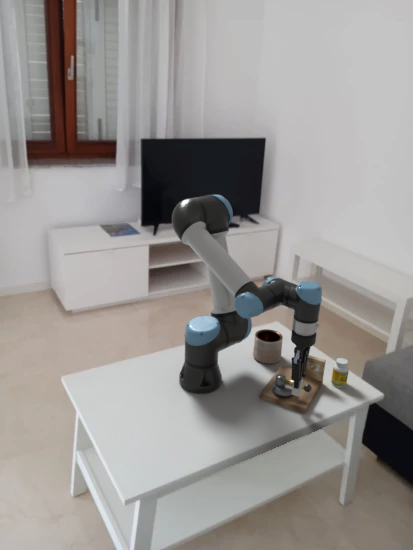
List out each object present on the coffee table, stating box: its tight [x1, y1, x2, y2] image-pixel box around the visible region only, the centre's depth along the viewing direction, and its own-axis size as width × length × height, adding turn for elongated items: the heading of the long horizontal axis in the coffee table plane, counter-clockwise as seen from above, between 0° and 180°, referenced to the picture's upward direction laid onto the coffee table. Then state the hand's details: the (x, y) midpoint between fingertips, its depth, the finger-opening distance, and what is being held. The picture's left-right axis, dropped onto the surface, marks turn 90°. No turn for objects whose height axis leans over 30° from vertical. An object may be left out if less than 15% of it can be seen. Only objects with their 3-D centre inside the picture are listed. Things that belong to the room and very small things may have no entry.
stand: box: [259, 354, 326, 414], centre depth 164 cm, size 16×20×10 cm
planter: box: [252, 328, 284, 365], centre depth 184 cm, size 11×11×10 cm
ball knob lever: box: [272, 374, 312, 398], centre depth 159 cm, size 13×8×6 cm, turn 61°
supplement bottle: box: [330, 357, 350, 389], centre depth 169 cm, size 5×5×10 cm
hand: (296, 394), depth 155 cm, fingers closed
